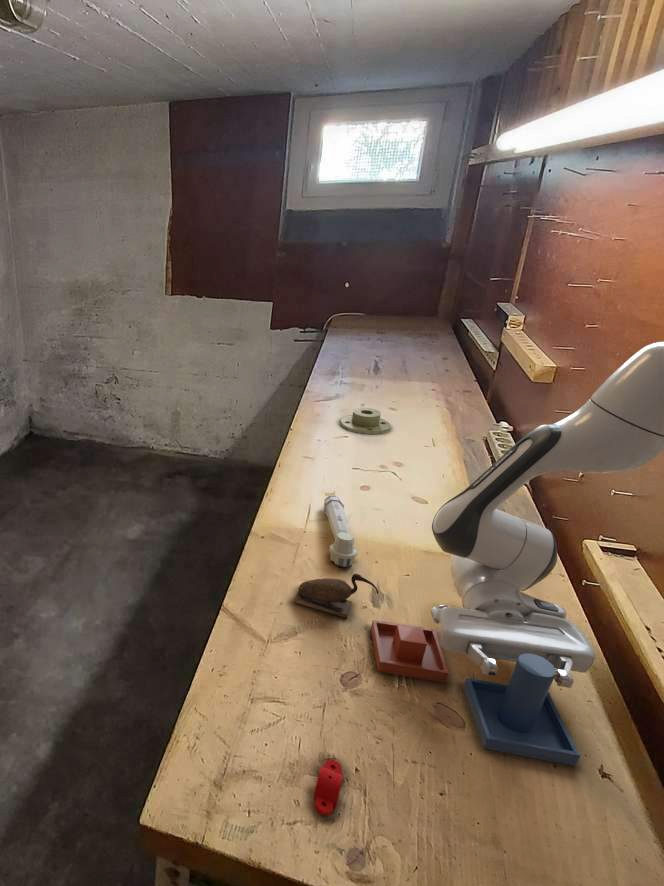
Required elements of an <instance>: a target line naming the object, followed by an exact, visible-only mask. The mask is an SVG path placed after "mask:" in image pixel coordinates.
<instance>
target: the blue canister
mask: <svg viewBox="0 0 664 886" xmlns="http://www.w3.org/2000/svg"><path fill="white" fill-rule="evenodd" d="M556 671H557V669H556V668H555V667H554V666H553V665H552V664H551V663H550V662H549V661H548V660H546V659H544V658H542V657H540V656H538V655H534V654H528V653H526V654H521V655H520V656H519V657H518V659H517V662H515V664H514V667H513V671H512V673H511V675H510V679H509V681H508V683H507V685H508V686H507V689H506V691H505V694H504V697H503V699H502V702H501V705H500V707H499V710H498V713H497V714H498V718H499V720H500V721H501V722H502V723H503V724H504V725H505V726H506V727H508V728H509V729H511V730H513V731H516V732H519V733H528V732H530V731H531V730H532V729H533V727H534V724H535V722H536V719H537V717H538V715H539V712H540V710H541V708H542V705H543V703H544V700H545V698H546V696H547V693H548V692H549V690H550V689H551V686H552V684H553V682H554V677H555V675H556V674H557V673H556Z"/></svg>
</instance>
